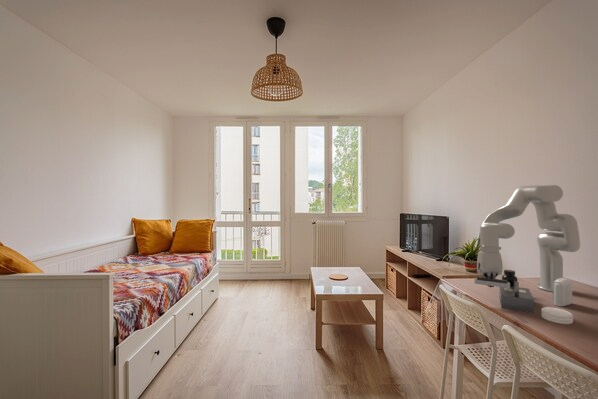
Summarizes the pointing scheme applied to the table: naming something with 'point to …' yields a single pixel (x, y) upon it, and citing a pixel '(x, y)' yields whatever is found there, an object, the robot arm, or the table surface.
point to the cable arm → (492, 282)
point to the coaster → (557, 315)
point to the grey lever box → (516, 298)
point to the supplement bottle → (510, 277)
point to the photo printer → (562, 292)
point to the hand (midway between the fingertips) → (490, 286)
